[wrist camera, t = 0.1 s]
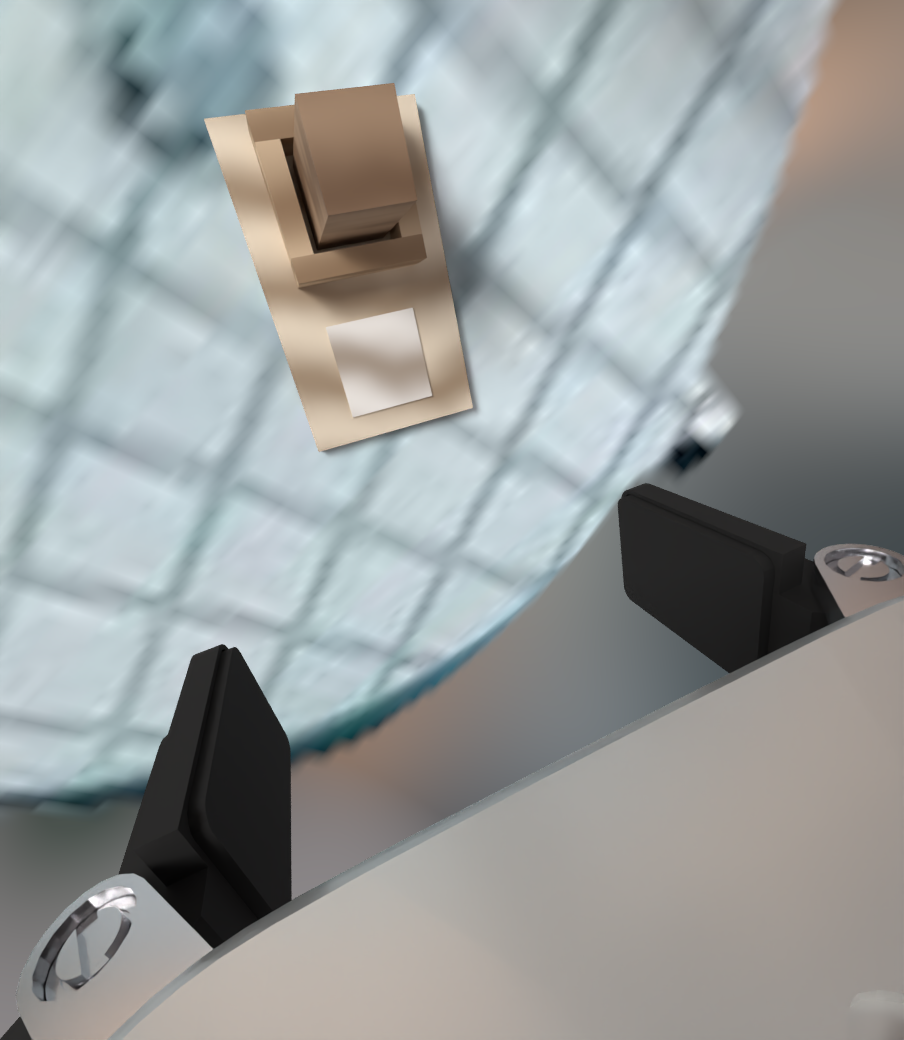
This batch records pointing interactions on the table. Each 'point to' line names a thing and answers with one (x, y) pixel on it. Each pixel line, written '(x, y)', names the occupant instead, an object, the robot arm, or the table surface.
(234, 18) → the table surface
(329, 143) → the walnut block
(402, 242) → the pocket board
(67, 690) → the table surface
